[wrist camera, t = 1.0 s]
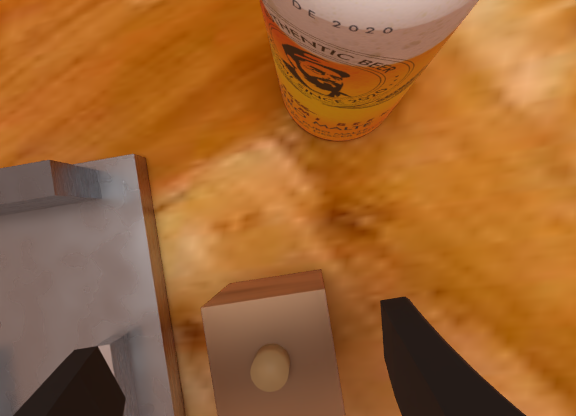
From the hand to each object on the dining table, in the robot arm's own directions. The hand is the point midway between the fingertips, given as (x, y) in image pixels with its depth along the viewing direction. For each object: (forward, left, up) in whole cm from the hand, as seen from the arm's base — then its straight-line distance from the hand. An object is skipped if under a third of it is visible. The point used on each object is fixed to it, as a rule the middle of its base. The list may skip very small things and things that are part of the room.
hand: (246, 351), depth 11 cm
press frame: (-2, +12, -12) cm, 17 cm away
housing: (-2, 0, -12) cm, 12 cm away
